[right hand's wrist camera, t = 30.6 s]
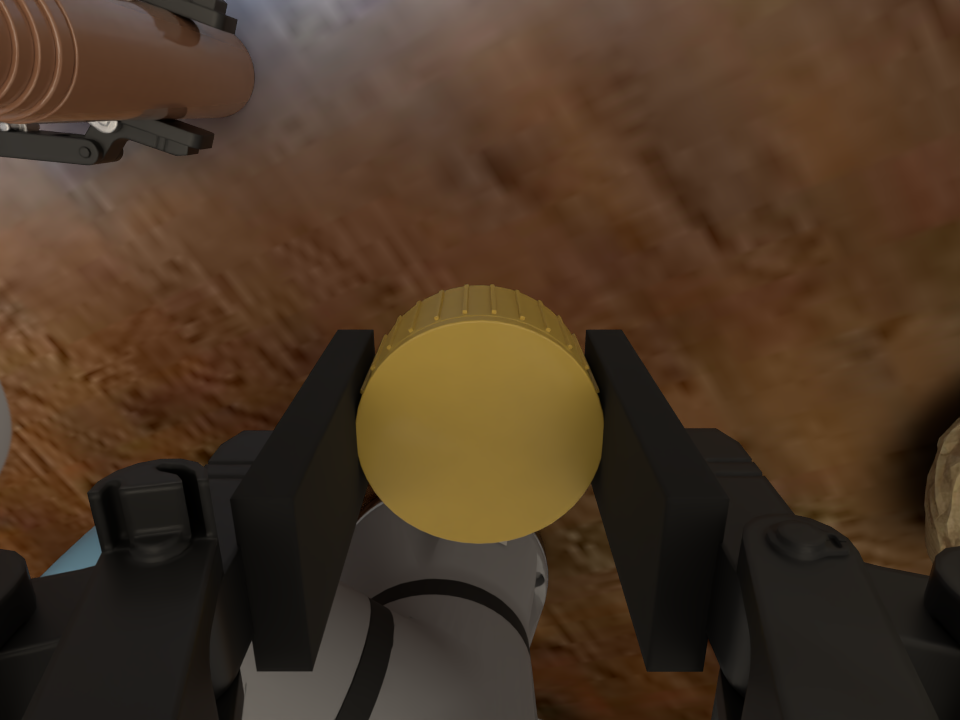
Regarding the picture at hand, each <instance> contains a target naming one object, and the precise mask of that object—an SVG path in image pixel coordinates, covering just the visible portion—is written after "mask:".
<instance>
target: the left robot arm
mask: <svg viewBox="0 0 960 720" xmlns="http://www.w3.org/2000/svg"><path fill="white" fill-rule="evenodd" d="M141 1H143V2H146V3H149V4H151V5H155V6H158V7H161V8H163V9H166V10H168V11H170V12H173V13H176V14H178V15H181V16H184V17H186V18H189V19H192V20H194V21H197V22H200V23H203V24H205V25H208V26H211V27H213V28H216V29H219V30H222V31H225V32H228V33H231V34H235V30H236V24H237V19H235V18H232V17H229V16H227V15H225V13H226V8H227V3H226V2H225V1H223V0H141ZM88 123H89V124H91V125H90V127H89V129H88V131H87V132H86V134H85V135H82V134H72V133H63V132H53V131H43V130H39V128H40V125H39V124H9V123H4V122H0V157H10V158H20V159H30V160H40V161H50V162H60V163H71V164H81V165H94V164H101V163H108V162H115V161H118V160H120V159H121V158H122V156H123V147H124V145H125V143H126V142H127V141H128V140H132V141H135V142H138V143H141V144H144V145H147V146H149V147H152V148H156V149H158V150H161V151H164V152H167V153H170V154H172V155H175V156H181V155H192V154H198V152H199V149H208V148H212V144H213V139H214V133H212V132H209V131H207V130H204V129H201V128H198V127H195V126H192V125H190V124H187V123H184V122H181V121H178V120H175V119H166V120H135V121H104V122H88Z"/></svg>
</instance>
